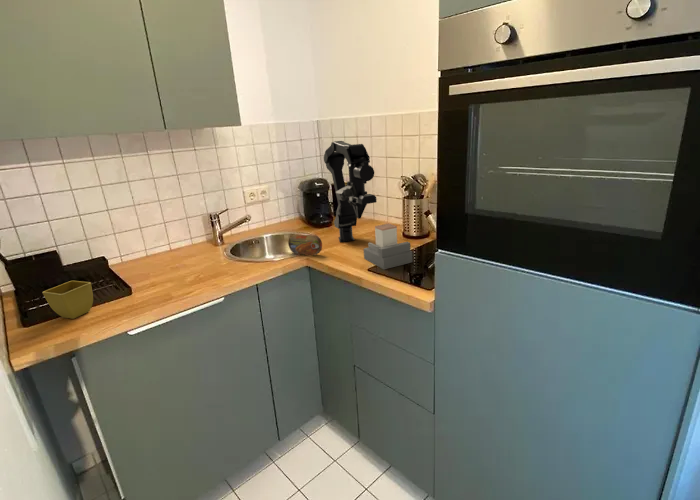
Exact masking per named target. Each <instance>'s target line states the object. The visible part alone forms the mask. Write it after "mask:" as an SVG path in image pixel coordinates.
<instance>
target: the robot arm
mask: <svg viewBox="0 0 700 500" xmlns="http://www.w3.org/2000/svg"><path fill="white" fill-rule="evenodd" d="M345 159H346V162H347V166H348V180H347V181H346V183H345V178H344V174H343V173H344V172H343V168H344V165H345ZM370 159H371V157H370V156H369V153H368V151H367V149H366V147H365V145H364V144H363V143H356V144H351V143H348V142H345V141H344V140H337V141H336V140H335V141H332V142H331V144H330V146H329V147H327V148H326V150H325V151H324V155H323V162H324V164H325V167H326V170H327V171H329V172H330V173H331V177H332V181H333V187H334V191H335V196H336V201H337V209H336V211H335V214H336V215H335V219H334V221H333V224H334V227H335V228H337V229H338V230H339V237H338V241H339V242H340V243H344V242H345V243H346V242H353V241H355V238H354V236H353V227H356V226H357V221H358V220H359V219H362V216H363V213H364V211H365V209H366V207H367V205H368V204H374V203H377V196H376V195H375V194H371V193H368V191H366V189H365V188H366V187H365V186H366V185H365V184H368V183H367V182H370V181H372V179H373V178H374V176H375V169H374V168H373V166H372V165H370V163H371V160H370Z"/></svg>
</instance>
